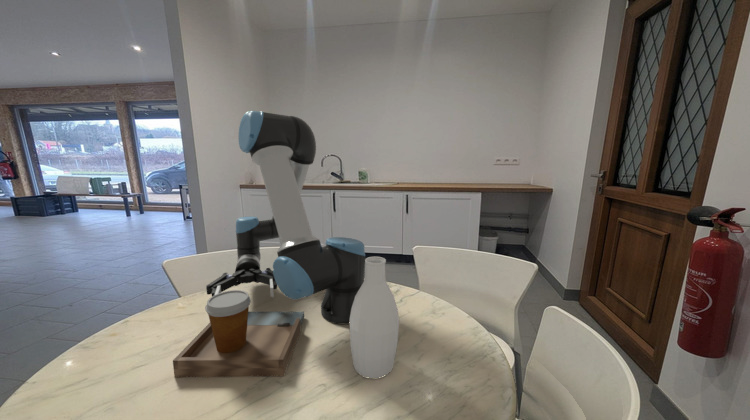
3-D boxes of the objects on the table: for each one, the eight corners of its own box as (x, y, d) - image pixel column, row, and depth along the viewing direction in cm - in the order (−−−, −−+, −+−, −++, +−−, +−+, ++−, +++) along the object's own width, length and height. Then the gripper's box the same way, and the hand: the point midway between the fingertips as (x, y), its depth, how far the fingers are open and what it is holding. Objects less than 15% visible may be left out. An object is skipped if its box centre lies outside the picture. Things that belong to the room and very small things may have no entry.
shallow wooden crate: (306, 317, 82) (305, 305, 82) (283, 376, 60) (283, 359, 59) (227, 317, 82) (226, 305, 81) (174, 377, 59) (172, 360, 58)
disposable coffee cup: (227, 363, 60) (223, 312, 58) (199, 350, 64) (195, 302, 62) (261, 339, 69) (259, 294, 67) (235, 329, 73) (232, 286, 71)
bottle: (407, 370, 62) (412, 262, 58) (365, 392, 56) (367, 273, 52) (379, 343, 71) (381, 248, 67) (340, 360, 65) (340, 256, 61)
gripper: (287, 274, 99) (293, 301, 79) (206, 284, 89) (191, 318, 70) (286, 254, 97) (292, 276, 78) (204, 262, 88) (188, 290, 69)
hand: (245, 296), depth 74 cm, fingers open, 13 cm apart
